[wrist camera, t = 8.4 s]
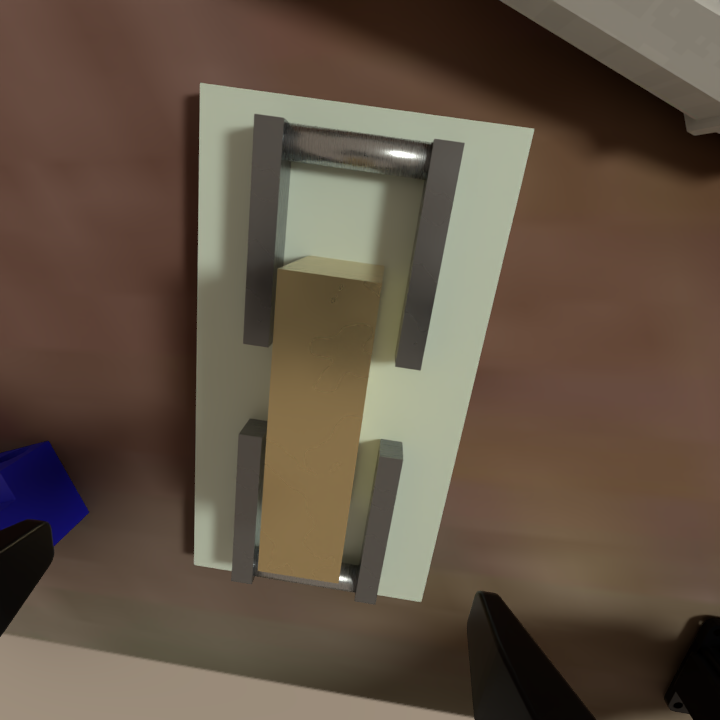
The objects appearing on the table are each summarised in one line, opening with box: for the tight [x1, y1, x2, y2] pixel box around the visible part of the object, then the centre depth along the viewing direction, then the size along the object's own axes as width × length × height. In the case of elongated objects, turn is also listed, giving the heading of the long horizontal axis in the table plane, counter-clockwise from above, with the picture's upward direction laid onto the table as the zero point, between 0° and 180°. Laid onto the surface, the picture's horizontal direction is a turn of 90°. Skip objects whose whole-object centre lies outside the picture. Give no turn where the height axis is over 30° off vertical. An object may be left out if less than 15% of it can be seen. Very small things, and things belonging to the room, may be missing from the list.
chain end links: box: [231, 114, 465, 604], centre depth 18 cm, size 7×20×2 cm, turn 172°
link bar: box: [258, 255, 384, 584], centre depth 16 cm, size 3×11×5 cm, turn 173°
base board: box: [194, 83, 534, 602], centre depth 19 cm, size 12×22×1 cm, turn 172°
